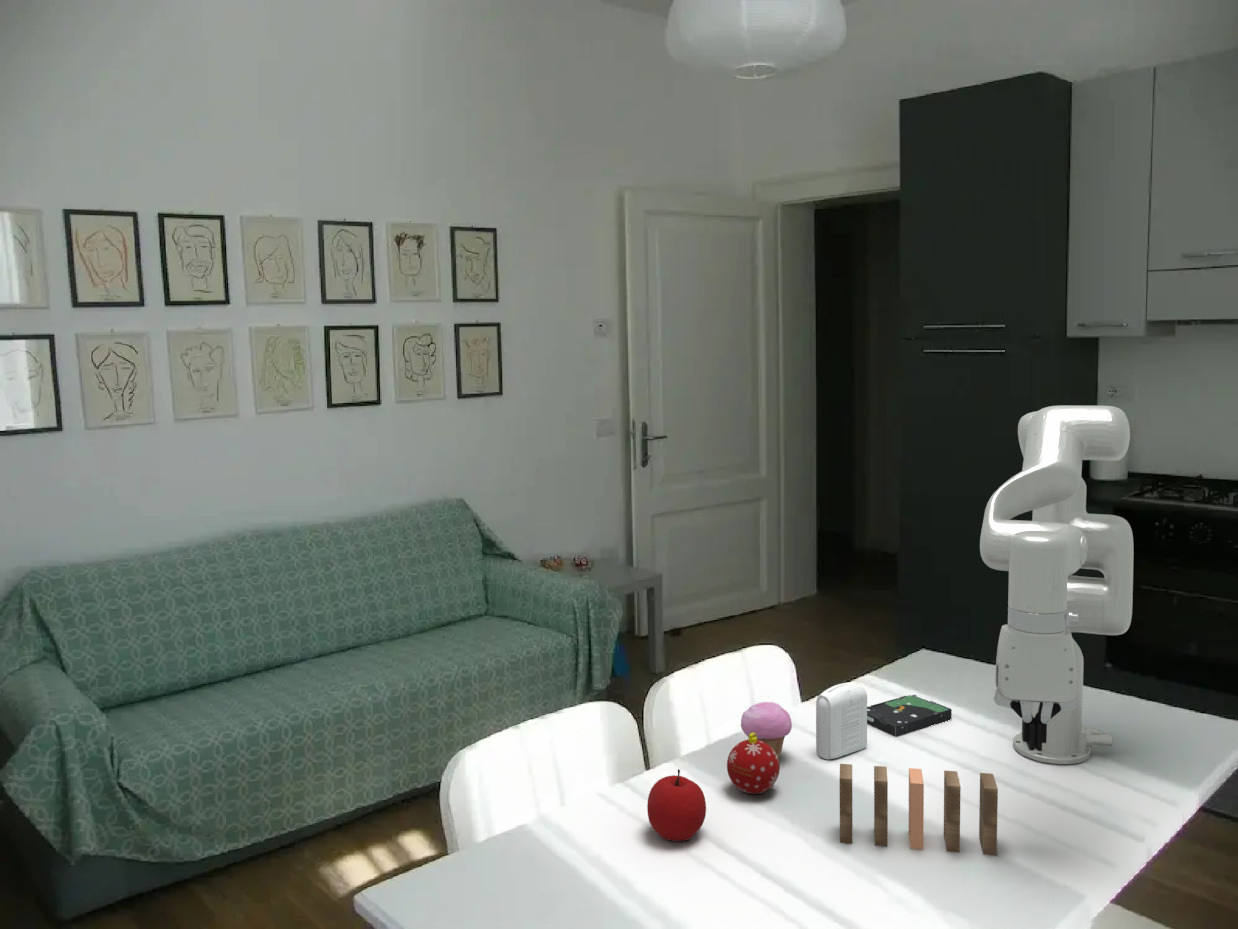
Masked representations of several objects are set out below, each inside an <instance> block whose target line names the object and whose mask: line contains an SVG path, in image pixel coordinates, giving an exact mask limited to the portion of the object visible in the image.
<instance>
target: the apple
mask: <svg viewBox="0 0 1238 929" xmlns="http://www.w3.org/2000/svg"><path fill="white" fill-rule="evenodd" d="M680 774H681V769H678V768H677V775H675V774H674V775H668V776H664V777H662V778H660V779H658V780H657V781H656V782H655V783H654V784H653V785H652V787H651V789H650V790H649V793H648V798H647V805H646V807H647V817H648V822H649V825H651V828H652V829H653V830H654V831H655V832H656V833H657V835H658V836H659V837H661V838H662V839H664V840H665V841H666V840H668V841H671V840H672V842H673V841H674V842H683V841H688V840H689V839H691V838H693V836H695V835H696V834H697V832H698V831H700V829H701V827H702V826H703V824H704V821H705V819H706V813H707V804H706V803H707V802H706V797H705V795H704V792H703V789H702V788H701V787H700V786H699V784H697V783H696V782H694V781H693V780H692V779H689V778H687V777H685V776H682V775H680Z"/></svg>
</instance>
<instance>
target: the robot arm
mask: <svg viewBox="0 0 1238 929" xmlns="http://www.w3.org/2000/svg"><path fill="white" fill-rule="evenodd" d="M1017 425H1018V426H1017V436H1018V438H1017V439H1018V442H1019V446H1020V451H1021V454H1022V457H1023V462H1022V469H1021V470H1022V471H1020V472H1018V473H1017V474H1015V475H1013V476H1011V477H1010V478H1009V479H1008V480H1007V481H1005V482H1004V483H1003V484H1001V485H1000V486H999V487H998V489H996V490H995V491H994V492H993V493H992V495H991V496H990V497H989V500H988V502H987V503H986V507H985V508H984V514H983V520H982V521H983V522H982V527H981V532H980V537H979V552H980V557H981V559H982V561H983V563H984V564H985V565H986V566H987V567H988V568H990V569H993V570H997V571H1003V572H1004V571H1005V572H1008V591H1007V592H1008V594H1007V595H1008V597H1007V598H1008V600H1007V601H1008V602H1007V604H1008V606H1007V613H1008V614H1007V624H1003V625H1002V626H1001V628H1000V632H999V637H998V643H997V648H996V649H997V650H996V658H995V659H996V661H995V662H996V663H995V674H994V675H995V676H994V679H995V680H994V681H995V687H996V690H995V694H994V698H993V700H994V703H995V704H996V705H997V706H999V707H1003V708H1007V709H1011V710H1013V712H1014V713H1016V714H1017V715H1018V716H1019V717H1020V718H1021V719H1022V722H1021V723H1022V724H1021V732H1019V733H1017V734H1016V735H1015V736H1014V737H1013V738H1012V746H1013V748H1014V750H1015V751H1017V752H1018V753H1019V754H1020V755H1022V756H1024V757H1026V758H1028V759H1030V760H1034V761H1037V762H1042V763H1047V764H1053V765H1073V764H1075V765H1076V764H1080V763H1082V762H1083V763H1084V762H1085V761H1087V760H1089V758H1090V757H1091V754H1092V748H1091V747H1093V746H1100V747H1111V746H1113V745H1112V744H1113V742H1112V741H1113V740H1112V736H1111V734H1101V731H1100V730H1096V729H1095V730H1094V729H1091V730H1087V729H1086V728H1085V727H1084V726H1083V698H1084V697H1083V696H1084V695H1083V694H1084V693H1083V692H1084V662H1085V661H1084V656H1083V653H1082V649H1081V648H1080V646H1079V645H1078V644H1077V641H1075V639H1074V638H1073V636H1072V633H1083V634H1093V635H1094V634H1095V635H1106V636H1119V635H1123V634H1125V633H1126V632H1127V631H1128V630H1129V628H1130V626H1131V623H1132V618H1133V617H1132V616H1133V603H1134V602H1133V600H1134V599H1133V593H1134V592H1133V591H1134V554H1135V552H1134V535H1133V530H1132V527H1131V525H1130V523H1129V522H1128V520H1127V519H1125V518H1124V517H1123V516H1122V517H1121V516H1118V515H1114V514H1102V513H1088V512H1087V484H1086V481H1085V480H1084V479H1083V477H1082V469H1083V461H1107V462H1108V461H1110V462H1111V461H1112V462H1114V461H1115V462H1116V461H1120V460H1122V459H1123V458H1124V457H1125V455H1126V454H1127V452H1128V449H1129V445H1130V442H1131V441H1130V439H1131V430H1130V428H1131V427H1130V423H1129V419H1128V418H1127V415H1126V413H1125V412H1124V411H1123V410H1122V409H1121V408H1120V407H1116V406H1112V405H1073V404H1072V405H1061V404H1060V405H1051V406H1046V407H1043V408H1041V409H1039V410H1037V411H1032V412H1028V413H1026V414H1025V415H1023V416H1021V417H1020V419H1019V421H1018V424H1017ZM1031 511H1032V519H1031V520H1019V519H1018V520H1017V519H1013V518H1015V517H1017V516H1019V515H1022V514H1024V513H1027V512H1031ZM1080 569H1083V570H1084V569H1085V570H1095V571H1099V572H1101V573H1102V574H1103V577H1094V576H1093V577H1091V576H1090V577H1089V576H1079V575H1073V574H1075V573H1077V572H1078V571H1079V570H1080Z"/></svg>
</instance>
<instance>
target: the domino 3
mask: <svg viewBox="0 0 1238 929" xmlns="http://www.w3.org/2000/svg"><path fill="white" fill-rule="evenodd" d="M923 776H924V775H923V770H922V768H912V767H909V768H908V840H909V846H910V849H911V850H912V849H913V850H924V825H925V824H924V822H925V820H924V816H925V815H924V812H925V811H924V806H925V805H924V804H925V803H924V798H925V792H924V791H925V790H924V789H925V788H924V787H925V785H924V783H925V782H924V777H923Z"/></svg>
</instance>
